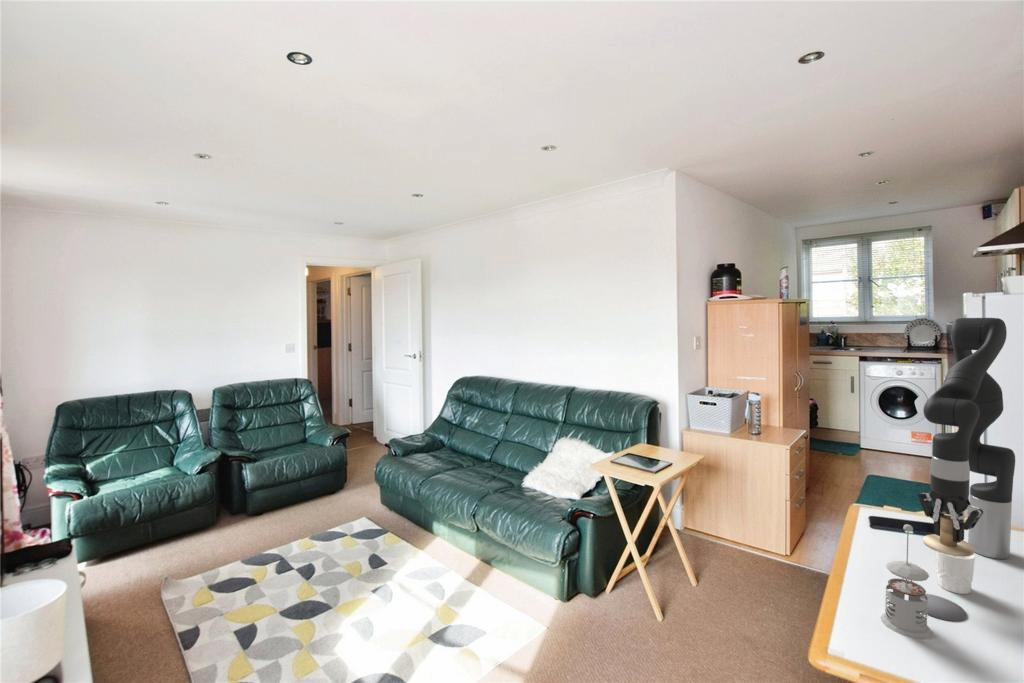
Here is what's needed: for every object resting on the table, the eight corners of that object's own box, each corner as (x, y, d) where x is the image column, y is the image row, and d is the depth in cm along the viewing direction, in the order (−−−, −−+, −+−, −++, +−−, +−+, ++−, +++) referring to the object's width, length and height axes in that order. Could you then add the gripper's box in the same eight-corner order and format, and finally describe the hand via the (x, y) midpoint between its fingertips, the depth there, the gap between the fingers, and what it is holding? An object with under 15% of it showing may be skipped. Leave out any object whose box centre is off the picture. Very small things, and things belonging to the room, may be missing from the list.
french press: (878, 627, 119) (881, 526, 117) (882, 604, 128) (884, 510, 126) (932, 644, 113) (935, 538, 111) (931, 618, 121) (935, 520, 120)
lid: (938, 534, 135) (939, 506, 135) (983, 551, 126) (984, 521, 125) (914, 542, 132) (914, 514, 131) (958, 560, 123) (959, 529, 122)
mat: (926, 591, 133) (926, 589, 133) (976, 614, 122) (976, 613, 122) (899, 600, 129) (899, 598, 129) (947, 625, 119) (947, 623, 119)
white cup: (981, 597, 129) (982, 560, 129) (946, 594, 131) (947, 558, 130) (960, 580, 137) (961, 545, 136) (928, 578, 139) (929, 543, 138)
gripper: (992, 480, 122) (991, 547, 123) (928, 463, 135) (927, 524, 137) (973, 486, 119) (972, 554, 121) (910, 468, 133) (909, 530, 134)
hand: (948, 538), depth 129 cm, fingers closed on lid, 3 cm apart
